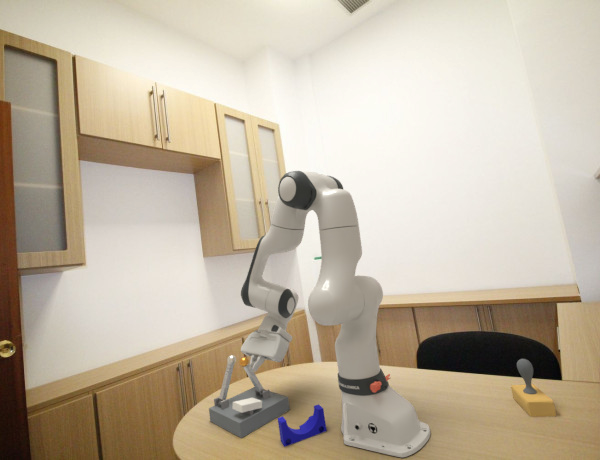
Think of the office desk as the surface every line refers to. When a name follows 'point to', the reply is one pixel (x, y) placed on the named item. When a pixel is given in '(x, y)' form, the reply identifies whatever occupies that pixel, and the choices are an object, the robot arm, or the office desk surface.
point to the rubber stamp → (531, 393)
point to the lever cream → (226, 379)
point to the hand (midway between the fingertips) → (251, 370)
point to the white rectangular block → (247, 405)
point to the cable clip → (302, 428)
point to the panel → (248, 412)
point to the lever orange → (251, 375)
